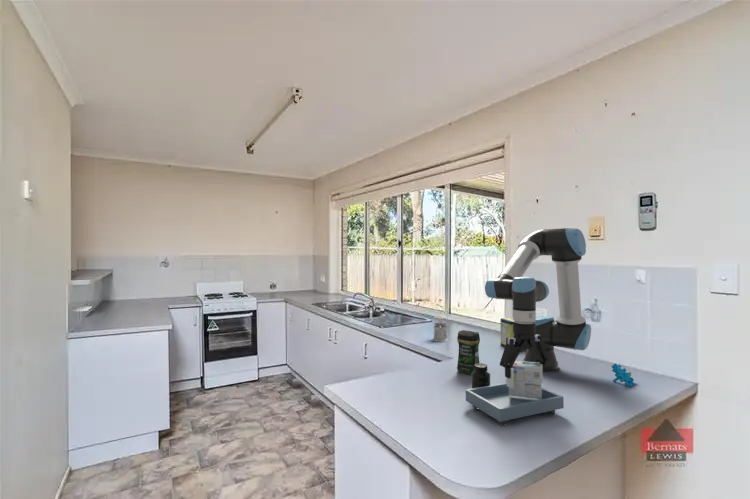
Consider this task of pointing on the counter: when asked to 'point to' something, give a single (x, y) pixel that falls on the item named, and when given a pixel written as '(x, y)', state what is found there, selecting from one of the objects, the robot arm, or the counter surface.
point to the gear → (622, 375)
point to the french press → (440, 329)
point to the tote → (511, 402)
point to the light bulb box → (526, 380)
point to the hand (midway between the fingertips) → (524, 384)
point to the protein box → (506, 330)
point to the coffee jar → (468, 351)
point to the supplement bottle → (480, 376)
